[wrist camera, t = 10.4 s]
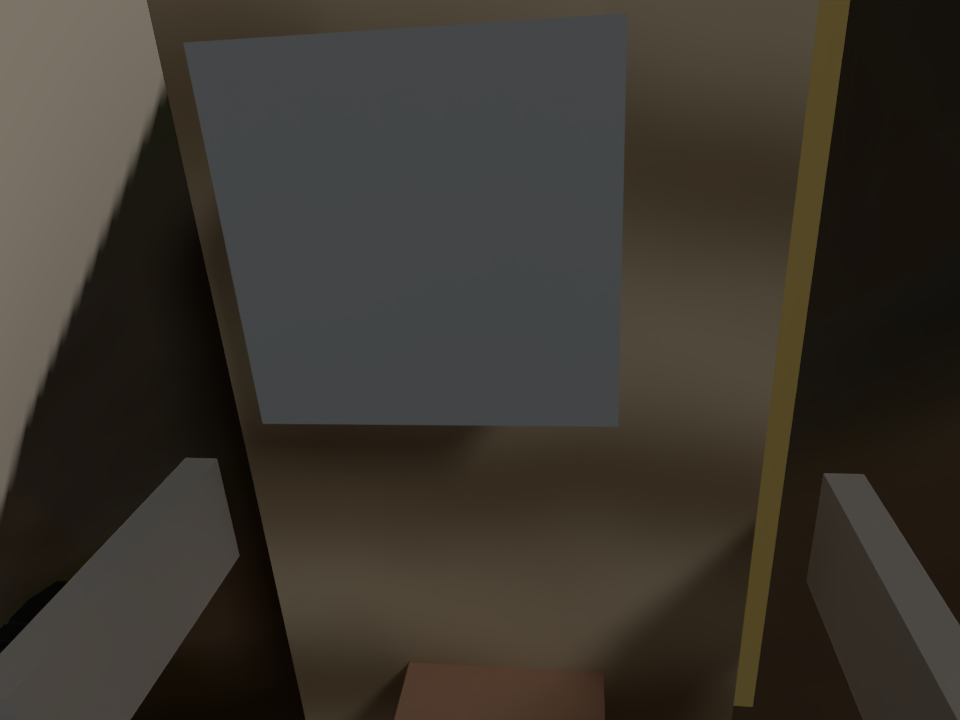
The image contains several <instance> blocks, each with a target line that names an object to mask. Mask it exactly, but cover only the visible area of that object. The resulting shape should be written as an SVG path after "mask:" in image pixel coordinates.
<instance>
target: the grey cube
mask: <svg viewBox="0 0 960 720" xmlns="http://www.w3.org/2000/svg"><path fill="white" fill-rule="evenodd" d="M183 44H184V49H185V54H186V59H187V63H188V68H189V73H190V78H191V83H192V87H193V92H194V97H195V102H196V107H197V111H198V116H199V121H200V126H201V131H202V135H203V140H204V145H205V150H206V155H207V159H208V164H209V169H210V174H211V179H212V183H213V188H214V193H215V198H216V202H217V207H218V212H219V217H220V222H221V226H222V231H223V236H224V241H225V246H226V250H227V255H228V260H229V265H230V270H231V274H232V279H233V284H234V289H235V294H236V298H237V303H238V308H239V313H240V318H241V322H242V327H243V332H244V337H245V341H246V346H247V351H248V356H249V361H250V365H251V370H252V375H253V380H254V385H255V389H256V394H257V399H258V404H259V409H260V413H261V418H262V423H263V424H358V425H478V426H598V427H618V416H619V371H620V326H621V281H622V237H623V192H624V147H625V102H626V57H627V13H621V14H606V15H591V16H576V17H561V18H546V19H531V20H516V21H501V22H486V23H471V24H455V25H440V26H425V27H410V28H395V29H380V30H365V31H350V32H335V33H320V34H305V35H290V36H275V37H260V38H245V39H230V40H215V41H200V42H184V43H183Z"/></svg>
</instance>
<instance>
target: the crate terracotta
mask: <svg viewBox="0 0 960 720" xmlns="http://www.w3.org/2000/svg"><path fill="white" fill-rule="evenodd" d="M394 720H605V704H604V679H603V673H599V672H580V671H562V670H543V669H525V668H506V667H488V666H469V665H451V664H432V663H414V662H409V665H408V669H407V673H406V677H405V681H404V684H403V688H402V692H401V696H400V700H399V704H398V707H397V711H396V715H395V719H394Z"/></svg>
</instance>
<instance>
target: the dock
mask: <svg viewBox="0 0 960 720" xmlns="http://www.w3.org/2000/svg"><path fill="white" fill-rule="evenodd" d="M849 5H850V0H819V8H818V17H817V25H816V33H815V41H814V49H813V58H812V66H811V74H810V82H809V90H808V99H807V107H806V115H805V123H804V131H803V140H802V148H801V156H800V164H799V173H798V181H797V189H796V197H795V205H794V214H793V222H792V230H791V238H790V246H789V255H788V263H787V271H786V279H785V287H784V296H783V304H782V312H781V320H780V328H779V337H778V345H777V353H776V361H775V369H774V378H773V386H772V394H771V402H770V410H769V419H768V427H767V435H766V443H765V451H764V460H763V468H762V476H761V484H760V492H759V501H758V509H757V517H756V525H755V533H754V542H753V550H752V558H751V566H750V574H749V583H748V591H747V599H746V607H745V615H744V624H743V632H742V640H741V648H740V656H739V665H738V673H737V681H736V689H735V698H734V706H748V707H753V700H754V693H755V686H756V679H757V671H758V664H759V657H760V650H761V642H762V635H763V628H764V621H765V613H766V606H767V599H768V592H769V584H770V577H771V570H772V563H773V555H774V548H775V541H776V534H777V526H778V519H779V512H780V505H781V497H782V490H783V483H784V476H785V468H786V461H787V454H788V447H789V439H790V432H791V425H792V418H793V410H794V403H795V396H796V389H797V381H798V374H799V367H800V360H801V353H802V345H803V338H804V331H805V324H806V316H807V309H808V302H809V295H810V287H811V280H812V273H813V266H814V258H815V251H816V244H817V237H818V229H819V222H820V215H821V208H822V200H823V193H824V186H825V179H826V171H827V164H828V157H829V150H830V142H831V135H832V128H833V121H834V113H835V106H836V99H837V92H838V84H839V77H840V70H841V63H842V55H843V48H844V41H845V34H846V26H847V19H848V12H849Z"/></svg>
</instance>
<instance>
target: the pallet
mask: <svg viewBox="0 0 960 720" xmlns="http://www.w3.org/2000/svg"><path fill="white" fill-rule="evenodd" d="M147 3H148V8H149V12H150V17H151V21H152V25H153V30H154V35H155V39H156V44H157V48H158V53H159V58H160V62H161V67H162V71H163V76H164V80H165V85H166V89H167V94H168V98H169V103H170V107H171V112H172V116H173V121H174V126H175V130H176V135H177V139H178V144H179V148H180V153H181V157H182V162H183V166H184V171H185V175H186V180H187V184H188V189H189V193H190V198H191V203H192V207H193V212H194V216H195V221H196V225H197V230H198V234H199V239H200V243H201V248H202V252H203V257H204V261H205V266H206V270H207V275H208V280H209V284H210V289H211V293H212V298H213V302H214V307H215V311H216V316H217V320H218V325H219V329H220V334H221V338H222V343H223V347H224V352H225V357H226V361H227V366H228V370H229V375H230V379H231V384H232V388H233V393H234V397H235V402H236V406H237V411H238V415H239V420H240V424H241V429H242V434H243V438H244V443H245V447H246V452H247V456H248V461H249V465H250V470H251V474H252V479H253V483H254V488H255V492H256V497H257V501H258V506H259V511H260V515H261V520H262V524H263V529H264V533H265V538H266V542H267V547H268V551H269V556H270V560H271V565H272V569H273V574H274V578H275V583H276V588H277V592H278V597H279V601H280V606H281V610H282V615H283V619H284V624H285V628H286V633H287V637H288V642H289V646H290V651H291V655H292V660H293V665H294V669H295V674H296V678H297V683H298V687H299V692H300V696H301V701H302V705H303V710H304V714H305V719H306V720H394V719H395V715H396V711H397V707H398V704H399V700H400V696H401V692H402V688H403V684H404V681H405V677H406V673H407V669H408V665H409V662H414V663H432V664H451V665H469V666H488V667H506V668H525V669H543V670H562V671H580V672H599V673H603V679H604V704H605V720H732V714H733V706H734V698H735V689H736V681H737V673H738V665H739V656H740V648H741V640H742V632H743V624H744V615H745V607H746V599H747V591H748V583H749V574H750V566H751V558H752V550H753V542H754V533H755V525H756V517H757V509H758V501H759V492H760V484H761V476H762V468H763V460H764V451H765V443H766V435H767V427H768V419H769V410H770V402H771V394H772V386H773V378H774V369H775V361H776V353H777V345H778V337H779V328H780V320H781V312H782V304H783V296H784V287H785V279H786V271H787V263H788V255H789V246H790V238H791V230H792V222H793V214H794V205H795V197H796V189H797V181H798V173H799V164H800V156H801V148H802V140H803V131H804V123H805V115H806V107H807V99H808V90H809V82H810V74H811V66H812V58H813V49H814V41H815V33H816V25H817V17H818V8H819V0H147ZM621 13H627V57H626V102H625V147H624V192H623V237H622V281H621V326H620V371H619V416H618V427H598V426H478V425H358V424H263V423H262V418H261V413H260V409H259V404H258V399H257V394H256V389H255V385H254V380H253V375H252V370H251V365H250V361H249V356H248V351H247V346H246V341H245V337H244V332H243V327H242V322H241V318H240V313H239V308H238V303H237V298H236V294H235V289H234V284H233V279H232V274H231V270H230V265H229V260H228V255H227V250H226V246H225V241H224V236H223V231H222V226H221V222H220V217H219V212H218V207H217V202H216V198H215V193H214V188H213V183H212V179H211V174H210V169H209V164H208V159H207V155H206V150H205V145H204V140H203V135H202V131H201V126H200V121H199V116H198V111H197V107H196V102H195V97H194V92H193V87H192V83H191V78H190V73H189V68H188V63H187V59H186V54H185V49H184V44H183V43H184V42H200V41H215V40H230V39H245V38H260V37H275V36H290V35H305V34H320V33H335V32H350V31H365V30H380V29H395V28H410V27H425V26H440V25H455V24H471V23H486V22H501V21H516V20H531V19H546V18H561V17H576V16H591V15H606V14H621Z"/></svg>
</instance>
